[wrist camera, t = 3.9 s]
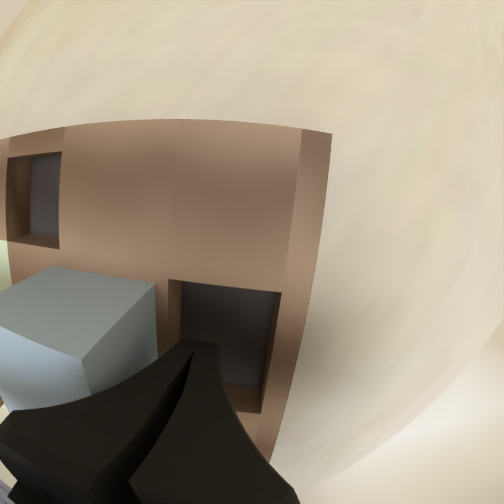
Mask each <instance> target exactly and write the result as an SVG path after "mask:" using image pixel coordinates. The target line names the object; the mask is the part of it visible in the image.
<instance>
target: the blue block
mask: <svg viewBox="0 0 504 504" xmlns="http://www.w3.org/2000/svg"><path fill="white" fill-rule="evenodd" d="M156 359H158V350H157V333H156V308H155V283H149V282H142V281H136V280H130V279H124V278H118V277H112V276H106V275H100V274H95V273H89V272H84V271H78V270H73V269H68V268H63V267H58V266H51V267H49V268H47V269H45V270H43V271H41V272H39V273H37V274H35V275H32V276H30V277H28V278H26V279H24V280H22V281H20V282H18V283H16V284H15V285H13V286H11V287H9V288H7V289H5V290H3V291H1V292H0V395H1V397H2V399H3V401H4V403H5V405H6V407H7V409H8V411H9V413H11V412H12V411H13V410H25V409H35V408H44V407H50V406H55V405H60V404H64V403H68V402H72V401H76V400H79V399H82V398H85V397H88V396H90V395H93V394H96V393H99V392H101V391H104V390H106V389H108V388H110V387H113V386H115V385H117V384H119V383H121V382H123V381H124V380H126V379H128V378H130V377H131V376H133V375H134V374H136V373H138V372H139V371H141V370H142V369H144V368H145V367H147V366H148V365H150V364H151V363H152V362H154V361H155V360H156Z"/></svg>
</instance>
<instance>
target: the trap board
mask: <svg viewBox="0 0 504 504" xmlns="http://www.w3.org/2000/svg"><path fill="white" fill-rule="evenodd" d="M331 141H332V134H330V133H324V132H318V131H312V130H306V129H299V128H292V127H285V126H277V125H268V124H259V123H248V122H236V121H220V120H194V119H154V120H129V121H114V122H102V123H92V124H83V125H75V126H68V127H61V128H54V129H48V130H43V131H37V132H32V133H27V134H22V135H18V136H13V137H9V138H5V139H1V140H0V292H1V291H3V290H5V289H7V288H9V287H11V286H13V285H15V284H16V283H18V282H20V281H22V280H24V279H26V278H28V277H30V276H32V275H35V274H37V273H39V272H41V271H43V270H45V269H47V268H49V267H51V266H58V267H63V268H68V269H73V270H78V271H84V272H89V273H95V274H100V275H106V276H112V277H118V278H124V279H130V280H136V281H142V282H149V283H155V308H156V333H157V350H158V358H159V357H160V356H162V355H163V354H164V353H166V352H167V351H168V350H169V349H171V348H172V347H173V346H174V345H176V344H177V343H178V342H179V341H181V340H182V339H183V338H187V339H193V340H199V341H206V342H213V343H218V344H219V345H220V346H221V352H220V365H221V371H222V375H223V379H224V383H225V386H226V389H227V392H228V395H229V398H230V400H231V403H232V405H233V407H234V410H235V412H236V414H237V416H238V418H239V420H240V422H241V423H242V425H243V427H244V429H245V431H246V432H247V434H248V435H249V437H250V438H251V440H252V441H253V443H254V444H255V446H256V447H257V448H258V450H259V451H260V453H261V454H262V455H263V456H264V458H265V459H266V460H267V461H268V463H269V462H270V459H271V455H272V452H273V449H274V445H275V442H276V439H277V435H278V432H279V428H280V424H281V421H282V417H283V413H284V410H285V406H286V402H287V398H288V394H289V390H290V386H291V382H292V378H293V374H294V370H295V365H296V361H297V357H298V352H299V348H300V343H301V338H302V334H303V329H304V324H305V319H306V314H307V309H308V304H309V299H310V293H311V288H312V282H313V277H314V271H315V265H316V259H317V253H318V246H319V240H320V233H321V226H322V219H323V212H324V205H325V197H326V189H327V180H328V171H329V162H330V152H331ZM3 404H4V401H3V399H2V397H1V395H0V407H1V406H2V405H3Z"/></svg>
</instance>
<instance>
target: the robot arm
mask: <svg viewBox="0 0 504 504" xmlns="http://www.w3.org/2000/svg"><path fill="white" fill-rule="evenodd" d="M220 352H221V346H220V345H219V344H218V343H213V342H206V341H199V340H193V339H187V338H183V339H182V340H181V341H179V342H178V343H177V344H176V345H174V346H173V347H172V348H171V349H169V350H168V351H167V352H166V353H164V354H163V355H162V356H160V357H159V358H158V359H156V360H155V361H154V362H152V363H151V364H150V365H148V366H147V367H145V368H144V369H142V370H141V371H139V372H138V373H136V374H134V375H133V376H131V377H130V378H128V379H126V380H124V381H123V382H121V383H119V384H117V385H115V386H113V387H110V388H108V389H106V390H104V391H101V392H99V393H96V394H93V395H90V396H88V397H85V398H82V399H79V400H76V401H72V402H68V403H64V404H60V405H55V406H50V407H44V408H35V409H25V410H13V411H12V412H11V413H10V414H9V415H8V416H7V417H6V418H5V420H4V421H3V422H2V423H1V424H0V460H1V462H2V463H3V464H4V465H5V467H6V468H7V469H8V470H9V471H10V472H11V474H13V476H14V477H15V478H16V479H17V480H18V481H17V482H16V484H15V485H14V487H13V488H10V487H9V486H8V485H7V484H5V483H4V482H3V481H2V480H0V504H300V502H299V500H298V497H297V495H296V493H295V491H294V489H293V488H292V487H291V486H290V485H289V484H288V483H287V482H286V481H285V480H284V479H283V478H282V477H281V476H280V475H279V474H278V473H277V472H276V471H275V469H274V468H273V467H272V466H271V465H270V464H269V463H268V461H267V460H266V459H265V458H264V456H263V455H262V454H261V453H260V451H259V450H258V448H257V447H256V446H255V444H254V443H253V441H252V440H251V438H250V437H249V435H248V434H247V432H246V431H245V429H244V427H243V425H242V423H241V422H240V420H239V418H238V416H237V414H236V412H235V410H234V407H233V405H232V403H231V400H230V398H229V395H228V392H227V389H226V386H225V383H224V379H223V375H222V371H221V365H220Z"/></svg>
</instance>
